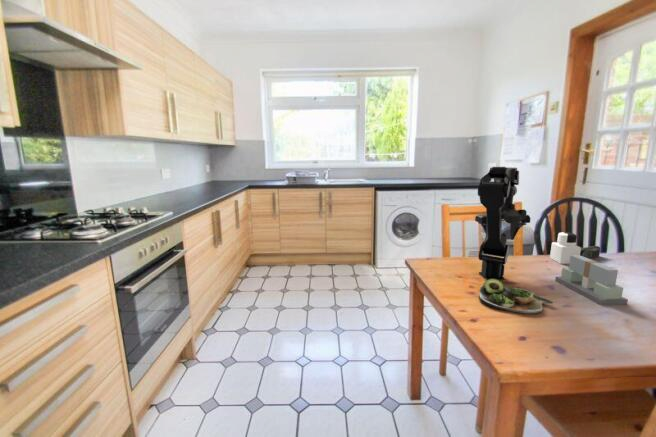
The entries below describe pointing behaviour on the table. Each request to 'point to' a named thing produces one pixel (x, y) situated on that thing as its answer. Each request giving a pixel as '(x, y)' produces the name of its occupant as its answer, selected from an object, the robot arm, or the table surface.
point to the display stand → (591, 288)
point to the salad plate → (510, 297)
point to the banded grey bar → (593, 270)
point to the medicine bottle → (564, 248)
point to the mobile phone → (590, 252)
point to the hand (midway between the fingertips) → (500, 239)
